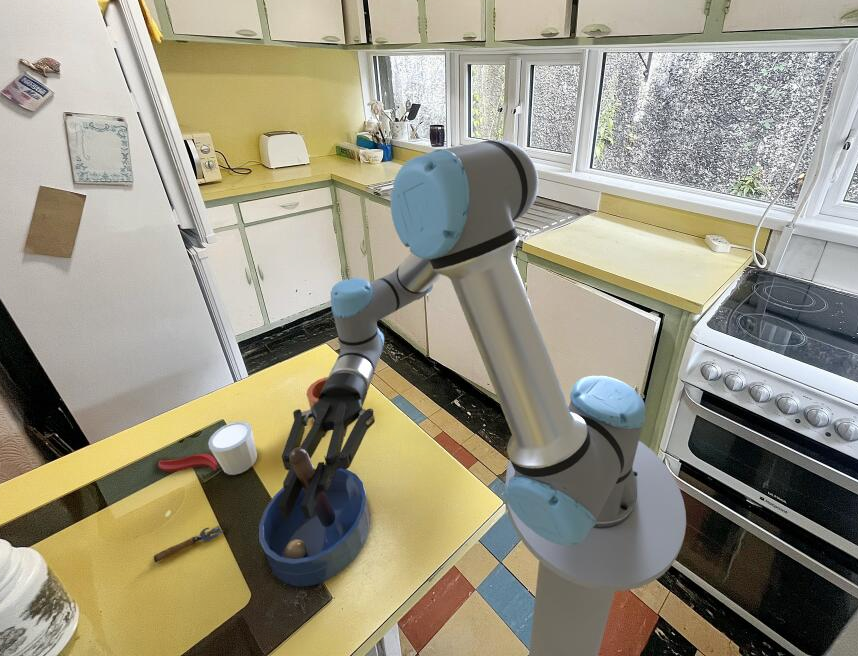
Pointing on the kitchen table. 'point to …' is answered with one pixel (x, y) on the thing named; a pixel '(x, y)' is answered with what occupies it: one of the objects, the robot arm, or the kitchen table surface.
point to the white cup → (234, 447)
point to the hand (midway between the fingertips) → (294, 512)
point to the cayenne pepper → (188, 463)
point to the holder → (315, 391)
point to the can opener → (188, 543)
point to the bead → (295, 549)
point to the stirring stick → (305, 474)
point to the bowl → (317, 533)
